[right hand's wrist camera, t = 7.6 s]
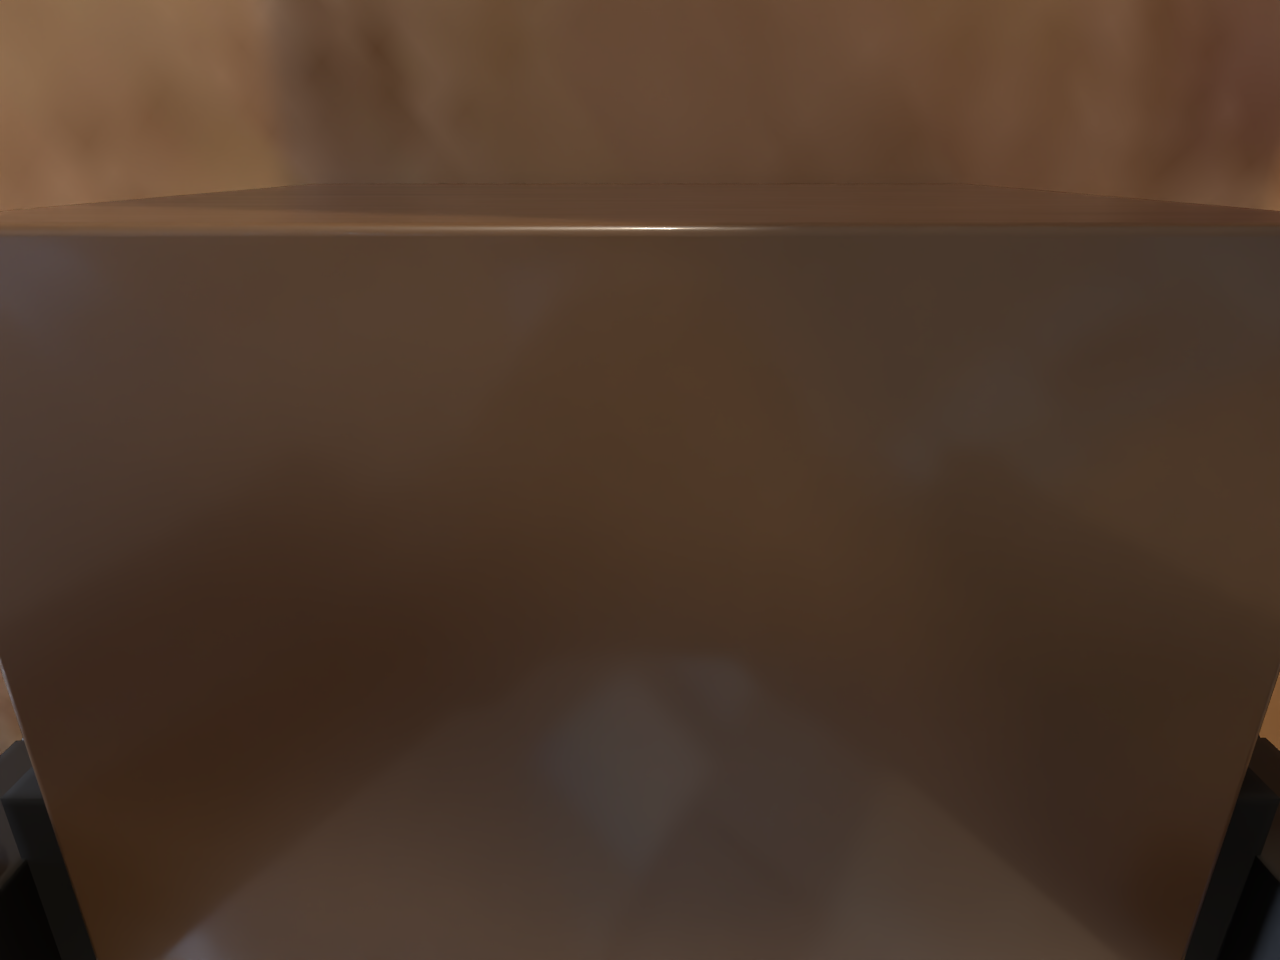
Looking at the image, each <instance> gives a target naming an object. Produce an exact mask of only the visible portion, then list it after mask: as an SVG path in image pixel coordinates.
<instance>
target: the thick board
mask: <svg viewBox="0 0 1280 960" xmlns="http://www.w3.org/2000/svg"><path fill="white" fill-rule="evenodd" d="M0 669H1V672H2V676H3V679H4V682H5V685H6V688H7V691H8V694H9V697H10V700H11V703H12V706H13V709H14V712H15V715H16V718H17V721H18V724H19V727H20V730H21V733H22V736H23V739H24V742H25V745H26V748H27V751H28V754H29V757H30V760H31V763H32V766H33V769H34V772H35V775H36V778H37V781H38V784H39V788H40V791H41V794H42V797H43V800H44V803H45V806H46V809H47V812H48V815H49V818H50V821H51V824H52V827H53V830H54V833H55V836H56V839H57V842H58V845H59V848H60V851H61V854H62V857H63V860H64V863H65V866H66V869H67V872H68V875H69V878H70V881H71V884H72V887H73V890H74V893H75V897H76V900H77V903H78V906H79V909H80V912H81V915H82V918H83V921H84V924H85V927H86V930H87V933H88V936H89V939H90V942H91V945H92V948H93V951H94V954H95V957H96V960H1184V959H1185V956H1186V953H1187V950H1188V947H1189V944H1190V941H1191V938H1192V935H1193V932H1194V929H1195V926H1196V922H1197V919H1198V916H1199V913H1200V910H1201V907H1202V904H1203V901H1204V898H1205V895H1206V892H1207V889H1208V886H1209V883H1210V880H1211V877H1212V874H1213V871H1214V868H1215V865H1216V862H1217V859H1218V856H1219V853H1220V850H1221V847H1222V844H1223V841H1224V838H1225V835H1226V832H1227V829H1228V826H1229V823H1230V820H1231V817H1232V814H1233V811H1234V808H1235V805H1236V802H1237V799H1238V796H1239V793H1240V790H1241V787H1242V784H1243V781H1244V778H1245V774H1246V771H1247V768H1248V765H1249V762H1250V759H1251V756H1252V753H1253V750H1254V747H1255V744H1256V741H1257V738H1258V735H1259V732H1260V729H1261V726H1262V723H1263V720H1264V717H1265V714H1266V711H1267V708H1268V705H1269V702H1270V699H1271V696H1272V693H1273V690H1274V687H1275V684H1276V681H1277V678H1278V675H1279V672H1280V211H1272V210H1261V209H1249V208H1238V207H1226V206H1215V205H1203V204H1192V203H1180V202H1169V201H1157V200H1146V199H1134V198H1123V197H1111V196H1100V195H1088V194H1077V193H1065V192H1054V191H1042V190H1031V189H1019V188H1008V187H996V186H985V185H973V184H306V185H294V186H283V187H271V188H260V189H248V190H237V191H225V192H214V193H202V194H191V195H179V196H168V197H156V198H145V199H133V200H122V201H110V202H99V203H87V204H76V205H64V206H53V207H41V208H30V209H18V210H7V211H0Z"/></svg>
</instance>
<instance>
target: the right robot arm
mask: <svg viewBox="0 0 1280 960" xmlns="http://www.w3.org/2000/svg"><path fill="white" fill-rule="evenodd" d="M0 960H96V957H95V954H94V951H93V948H92V945H91V942H90V939H89V936H88V933H87V930H86V927H85V924H84V921H83V918H82V915H81V912H80V909H79V906H78V903H77V900H76V897H75V893H74V890H73V887H72V884H71V881H70V878H69V875H68V872H67V869H66V866H65V863H64V860H63V857H62V854H61V851H60V848H59V845H58V842H57V839H56V836H55V833H54V830H53V827H52V824H51V821H50V818H49V815H48V812H47V809H46V806H45V803H44V800H43V797H42V794H41V791H40V788H39V784H38V781H37V778H36V775H35V772H34V769H33V766H32V763H31V760H30V757H29V754H28V751H27V748H26V745H25V742H24V739H23V738H22V740H21V741H15V742H14V743H13V744H12V745H11V746H10V747H9V748H8V749H7V750H6V751H5V752H4V753H3V754H1V755H0ZM1184 960H1280V751H1279V750H1278V749H1277V748H1276V747H1275V746H1274V745H1273V744H1272V743H1271V742H1269V741H1268V740H1267V739H1266V738H1260V736H1259V735H1258V738H1257V741H1256V744H1255V747H1254V750H1253V753H1252V756H1251V759H1250V762H1249V765H1248V768H1247V771H1246V774H1245V778H1244V781H1243V784H1242V787H1241V790H1240V793H1239V796H1238V799H1237V802H1236V805H1235V808H1234V811H1233V814H1232V817H1231V820H1230V823H1229V826H1228V829H1227V832H1226V835H1225V838H1224V841H1223V844H1222V847H1221V850H1220V853H1219V856H1218V859H1217V862H1216V865H1215V868H1214V871H1213V874H1212V877H1211V880H1210V883H1209V886H1208V889H1207V892H1206V895H1205V898H1204V901H1203V904H1202V907H1201V910H1200V913H1199V916H1198V919H1197V922H1196V926H1195V929H1194V932H1193V935H1192V938H1191V941H1190V944H1189V947H1188V950H1187V953H1186V956H1185V959H1184Z"/></svg>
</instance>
